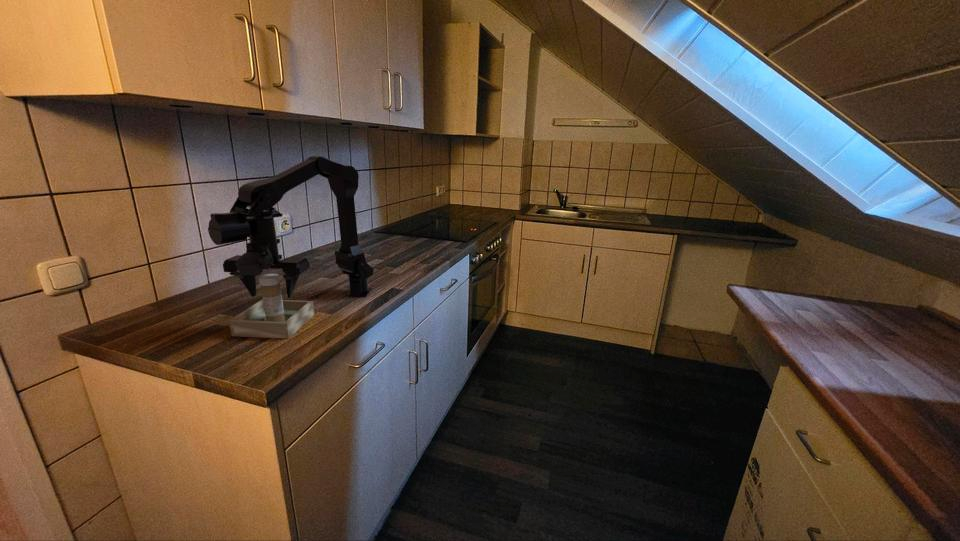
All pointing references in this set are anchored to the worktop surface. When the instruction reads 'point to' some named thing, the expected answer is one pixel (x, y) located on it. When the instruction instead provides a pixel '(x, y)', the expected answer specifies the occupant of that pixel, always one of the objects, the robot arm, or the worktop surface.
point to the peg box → (257, 326)
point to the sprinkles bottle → (272, 297)
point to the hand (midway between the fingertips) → (271, 296)
